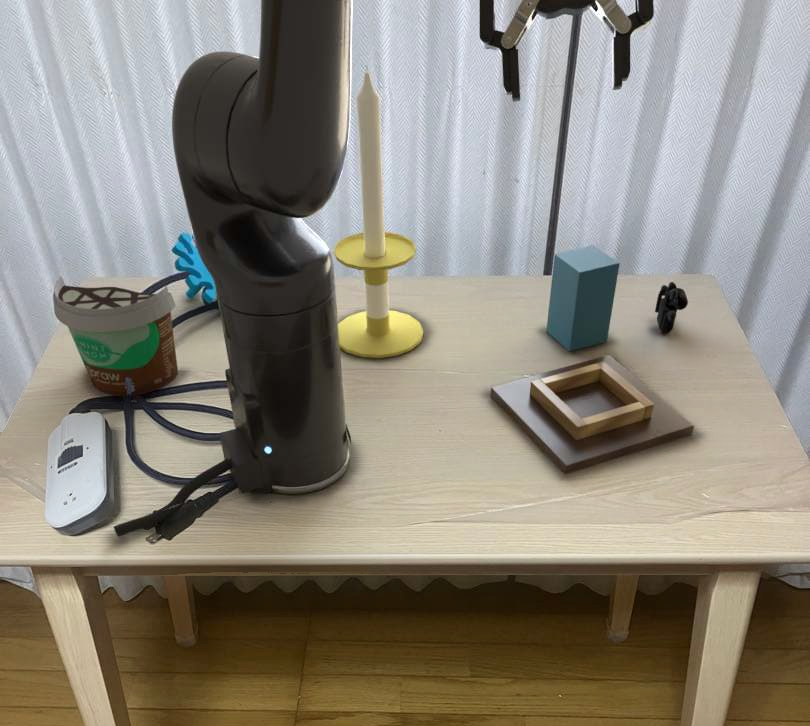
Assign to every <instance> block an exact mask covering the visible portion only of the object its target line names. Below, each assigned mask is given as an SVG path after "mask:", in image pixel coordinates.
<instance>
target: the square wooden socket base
mask: <svg viewBox="0 0 810 726" xmlns="http://www.w3.org/2000/svg"><path fill="white" fill-rule="evenodd" d="M490 396H491V398H492V399H493V400H494V401H495V402H496V403H497V404H498V405H499V406H500V407H501V408H502V409H503V410H504V412H505V413H507V414H508V416H509V417H510V418H511V419H512V421H514V422H515V423H516V424H517V425H518V426H519V428H521V429H522V431H524V432H525V433H526V435H527V436H528V437H529V438H530V440H532V441H533V442H534V443H535V445H537V446H538V447H539V448H540V450H541V451H543V453H545V455H546V456H547V457H548V458H549V459H550V460H551V461H552V462H553V463H554V465H556V466H557V467H558V469H559V470H561V471H562V473H563V474H564V475H568V474H571V473H574V472H577V471H581V470H584V469H587V468H590V467H593V466H597V465H600V464H603V463H607V462H609V461H612V460H614V459H619V458H621V457H624V456H627V455H631V454H634V453H637V452H640V451H643V450H646V449H650V448H653V447H657V446H659V445H662V444H665V443H668V442H672V441H675V440H677V439H681V438H684V437H688V436H691V435H693V432H694V429H695V425H694V424H693V423H692V422H690V421H689V420H688V419H687V418H685V416H683V414H681V413H680V412H678V411H677V410H676V409H675V408H673V406H671V405H670V404H669V403H667V402H666V401H665V400H664V399H663V398H661V396H659V394H657V393H655V392H654V391H653V390H652V389H651V388H649V386H647V385H646V384H645V383H644V382H642V381H641V380H640V379H639V378H637V376H635V375H634V374H633V373H631V371H629V370H628V369H627V368H625V366H623V365H622V364H620V363H619V362H618V361H617V360H616V359H614V358H613V357H612V356H611V355H610V354H606V355H603V356H599V357H596V358H592V359H589V360H585V361H582V362H578V363H573V364H570V365H567V366H564V367H559V368H557V369H553V370H549V371H545V372H541V373H537V374H535V375H531V376H526V377H524V378H523V377H522V378H519V379H516V380H512V381H509V382H506V383H502V384H498V385H494V386H491V387H490Z"/></svg>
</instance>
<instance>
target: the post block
mask: <svg viewBox="0 0 810 726" xmlns="http://www.w3.org/2000/svg"><path fill="white" fill-rule="evenodd" d="M620 265H621V264H620V262H619V261H617V260H616V259H615V258H613V257H612V256H611V255H609V254H607V253H606V252H604V251H603V250H601V249H600V248H599V247H597V246H596V245H595V244H591V245H587V246H583V247H578V248H574V249H570V250H565V251H560V252H557V253H554V256H553V267H552V275H551V282H550V283H551V284H550V294H549V304H548V312H547V321H546V330H545V331H546V333H548V334H549V335H550V336H551V337H552V338H553V339H554V340H556V341H557V342H558V343H559V344H560V345H561V346H563V348H565V349H566V350H567V351H569V352H573V351H576V350H580V349H584V348H587V347H591V346H595V345H600V344H602V343H606V342H608V338H609V331H610V325H611V320H612V313H613V308H614V307H613V306H614V301H615V296H616V295H615V294H616V290H617V289H616V288H617V283H618V277H619V269H620Z"/></svg>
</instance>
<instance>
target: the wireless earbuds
mask: <svg viewBox="0 0 810 726" xmlns="http://www.w3.org/2000/svg"><path fill="white" fill-rule="evenodd" d="M688 303H689V300H688V297H687V294H686V291H685V290H684V288H681V287H677V285H676V283H675V282H674V281H670V282H669V283H668V286H667V284H663V285H661V287H660V290H659V292H658V295H657V299H656V303H655V309H654V313H656V314H657V316H656V322H657V325H658V329H659V331H660V334H661V335H662V336H665V335H666V334H669V333H670V332H672V330H673V329H674V325H675V322H676V318H677V312H678V311H683V310H685V309H686V308H687V307H688Z"/></svg>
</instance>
